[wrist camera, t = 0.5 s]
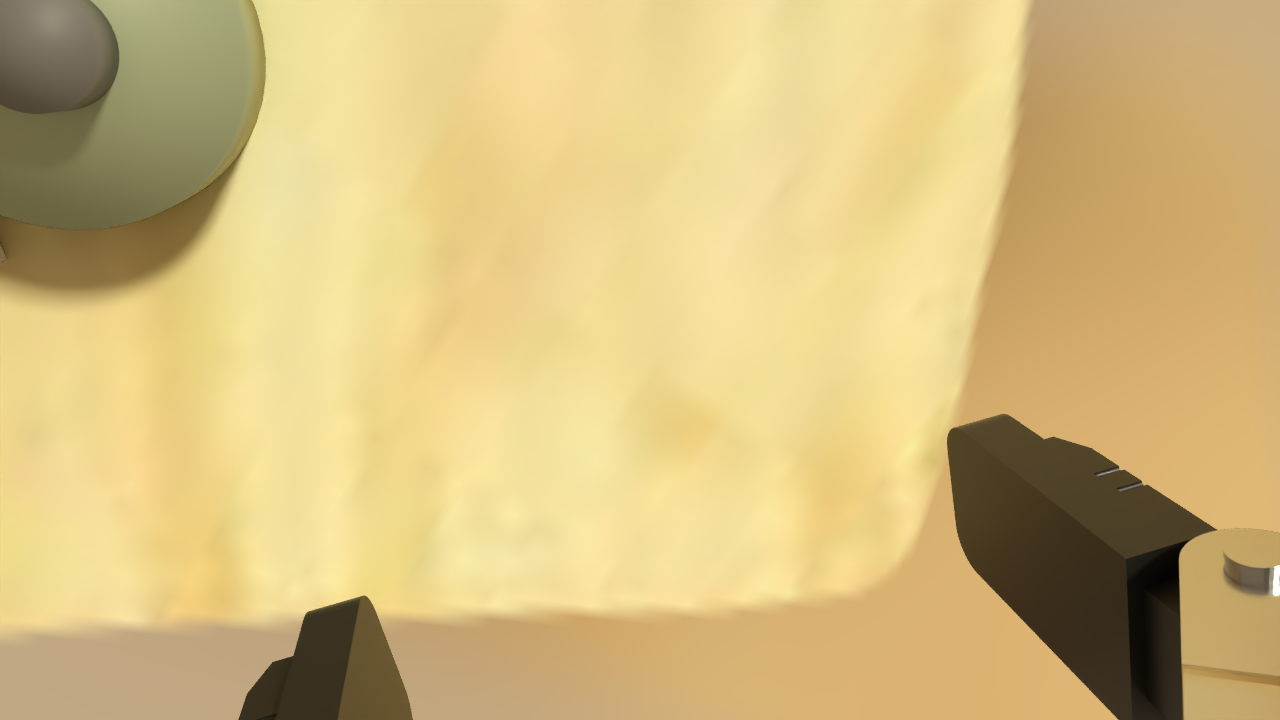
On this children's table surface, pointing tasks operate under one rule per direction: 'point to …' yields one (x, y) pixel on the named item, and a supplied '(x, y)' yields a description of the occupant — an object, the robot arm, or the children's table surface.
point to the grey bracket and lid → (122, 105)
